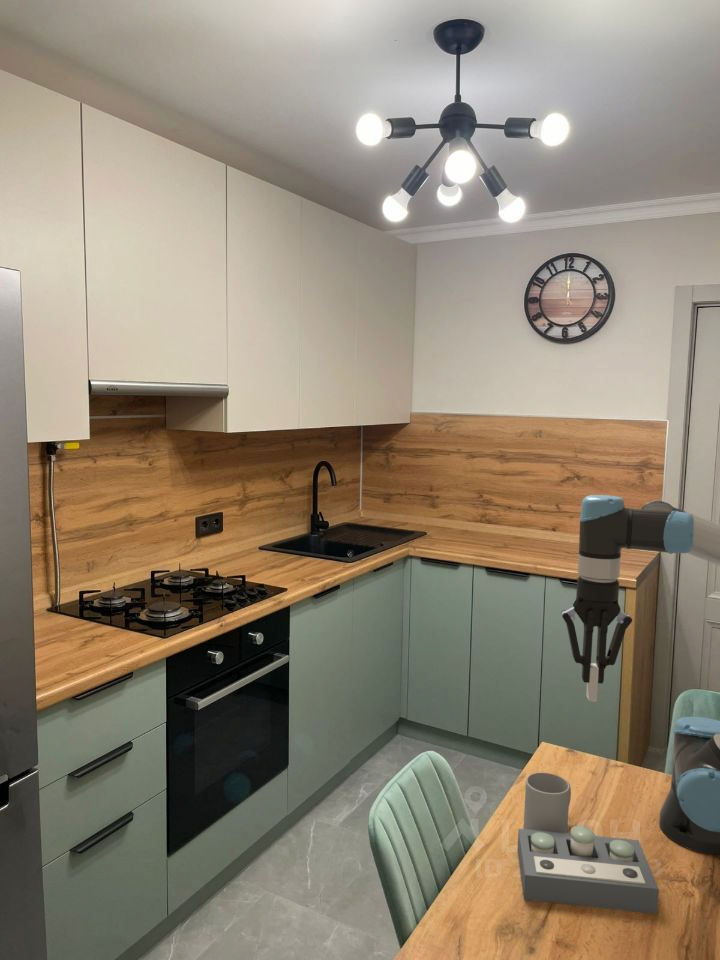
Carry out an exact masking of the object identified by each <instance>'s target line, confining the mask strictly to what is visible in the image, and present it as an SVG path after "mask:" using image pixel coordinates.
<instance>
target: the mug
mask: <svg viewBox="0 0 720 960" xmlns="http://www.w3.org/2000/svg"><path fill="white" fill-rule="evenodd" d="M524 792H525V793H524V811H523V812H524V813H523V828H522V829H528V830H538V831H549V832H559V833H568V832H569V830H568V828H569V809H570V804H571V797H572V789H571V784H570V782H568V781H567V780H566V779H565V778H564V777H562V776H559V775H557V774H554V773H550V772H535V773H532V774H529V775H528V776H527V777H526V780H525V790H524Z"/></svg>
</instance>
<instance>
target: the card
mask: <svg viewBox="0 0 720 960" xmlns="http://www.w3.org/2000/svg"><path fill="white" fill-rule="evenodd" d="M534 862H535V868H536V873H538V874H548V875H558V876H567V877H577V878H586V879H596V880H605V881H615V882H624V883H634V884H644V885H645V881H644V878H643V876H642V873H641V871H640V868H639V867H636V866H626V865H616V864H606V863H596V862H586V861H577V860H567V859H557V858H547V857H537V856H534Z"/></svg>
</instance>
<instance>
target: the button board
mask: <svg viewBox="0 0 720 960" xmlns="http://www.w3.org/2000/svg"><path fill="white" fill-rule="evenodd" d="M537 832H543V833H547V834H549V835H551V836H552V837H553V838H554V840H555V845H554V853H553V854H551V853H541V852H531V836H532V834H534V833H537ZM613 840H623V841H626V842H628V843H630V844H631V845H632V846H633V847H634V855H633V862H630V861H620V860H610V849H609V848H610V842H611V841H613ZM570 846H571V833H559V832H549V831H538V830H528V829H523V828H518V833H517V857H518V865H519V873H520V879H521V881H520V882H521V887H522V895H523V900H525V901H533V902H542V903H543V902H544V903H553V904H562V905H570V906H579V907H580V906H582V907H589V908H597V909H599V908H600V909H607V910H614V911H615V910H616V911H626V912H627V911H628V912H634V913H643V914H651V915H653V914H654V915H657V914H658V907H659V906H658V905H659V893H660V891H659V890H660V889H659V886H658V883H657V881H656V879H655V876H654V874H653V872H652V869H651V867H650V865H649V863H648V860H647V857H646V855H645V853H644V850H643V848H642V845H641V843H640V841H639V839H629V838H622V837H621V838H619V837H612V836H611V837H609V836H597V835H595V840H594V847H593V858H590V857H581V856H571V854H570ZM534 856H537V857H547V858H557V859H567V860H577V861H586V862H596V863H606V864H616V865H626V866H636V867H639V868H640V871H641V873H642V876H643V878H644V881H645V885H644V884H634V883H624V882H615V881H605V880H596V879H586V878H577V877H567V876H558V875H548V874H538V873H536V868H535V862H534Z"/></svg>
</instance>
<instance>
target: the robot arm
mask: <svg viewBox="0 0 720 960" xmlns="http://www.w3.org/2000/svg"><path fill="white" fill-rule="evenodd" d="M625 506H626V505H625V501H624V499H623V498H622V497H620V496H616V495H608V494H607V495H605V494H593V495H587V496H585V497H584V498H583V499H582V501H581V509H580V519H579V537H578V539H579V540H578V561H577V562H578V563H577V574H578V575H579V576H578V577H577V578H576V581H577V582H576V596H575V597H576V598H575V601H574V602H573V604H572V607H570V608H568V609H567V610H566V609H563V610H561V612H560V615H561V616H562V619H563V620H564V622H565V623H566V624H565V625H566V629H567V634H568V638H569V643H570V647H571V655H572V657H573V659H574V661H575V663H576V664H581V665H582V667H581V678H582V681H583V683H586V695H585V696H586V698H587V700H588V702H594V703H595V702H598V686H599V684H600V685H601V684H603V683H604V681H605V669H606V668H607V666H608V667H609V666H614V665H615V664H616V661H617V658H618V654H619V652H620V649H621V647H622V646H621V645H622V643H623V640H624V637H625V633H626V630H627V629H628V627H629V626H630V625H631V623H632V622H633V618H632V617H631V616H630V615H629V614H628V613H625V612H624V611H622V610H621V606H620V604H619V596H620V595H619V594H620V593H619V591H620V581H619V580H618V579H619V578H620V577H621V576H620V575H621V558H622V557H621V556H622V549H624V550H625V549H626V550H638V551H649V552H657V553H658V552H659V553H668V554H671V555H672V554H689V555H691V556H692V557H693V556H694V557H696V558H698V559H701V560H703V561H707V562H709V563H712V564H714V565H716V566H719V567H720V524H719V523H717V522H715V521H712V520H709V519H706V518H705V517H701V516H699V515H696V514H693V513H690V512H687V511H685V510H682V509H680V508H677V507H674V506H673V505H672V504H670V503H668V502H667V501H662V500H652V501H650V502H647V503H646V504H644V505H643V506H642V507H641V508H640V509H639V508H630V507H625ZM575 615H577V616H578V617H579V619H580V620H581V622H582V624H583V639H582V640H583V641H582V642H583V643H582V655H581V651H580V647H579V641H578V637H577V631H576V627H575V623H574V621H575V620H576V616H575ZM615 619H616V621H617V623H616V626H615V629H614V631H613V634H612V637H611V641H610V643H609V647H608V650H607V639H608V638H607V637H608V630H609V626H610V625H611V623H612V622H613V621H614V620H615ZM595 627H596V628H597V635H596V636H597V638H596V654H595V655H596V656H595V657H596V658H595V661H596V662H592V652H593V651H592V650H593V649H592V648H593V634H594V628H595ZM673 733H674V734H673V736H674V737H673V753H672V764H671V765H672V767H671V768H672V769H671V780H670V781H671V782H670V783H671V784H670V789H669V792H668V793H667V796H666V798H665V799H664V801H663V804H662V806H661V808H660V812H659V821H658V825H659V828H660V829H661V831H662V832H663V834H664V836H666V837H668V838H669V839H670V840H672V841H673V842H675V843H676V844H678V845H680V846H682V847H684V848H686V849H688V850H692V851H694V852H695V851H696V852H699V853H701V854H708V855H717V856H718V855H720V720H717V719H714V718H710V717H709V718H708V717H702V716H682V717H680V718H678V719H677V720H676V721H675V727H674V730H673Z"/></svg>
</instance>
